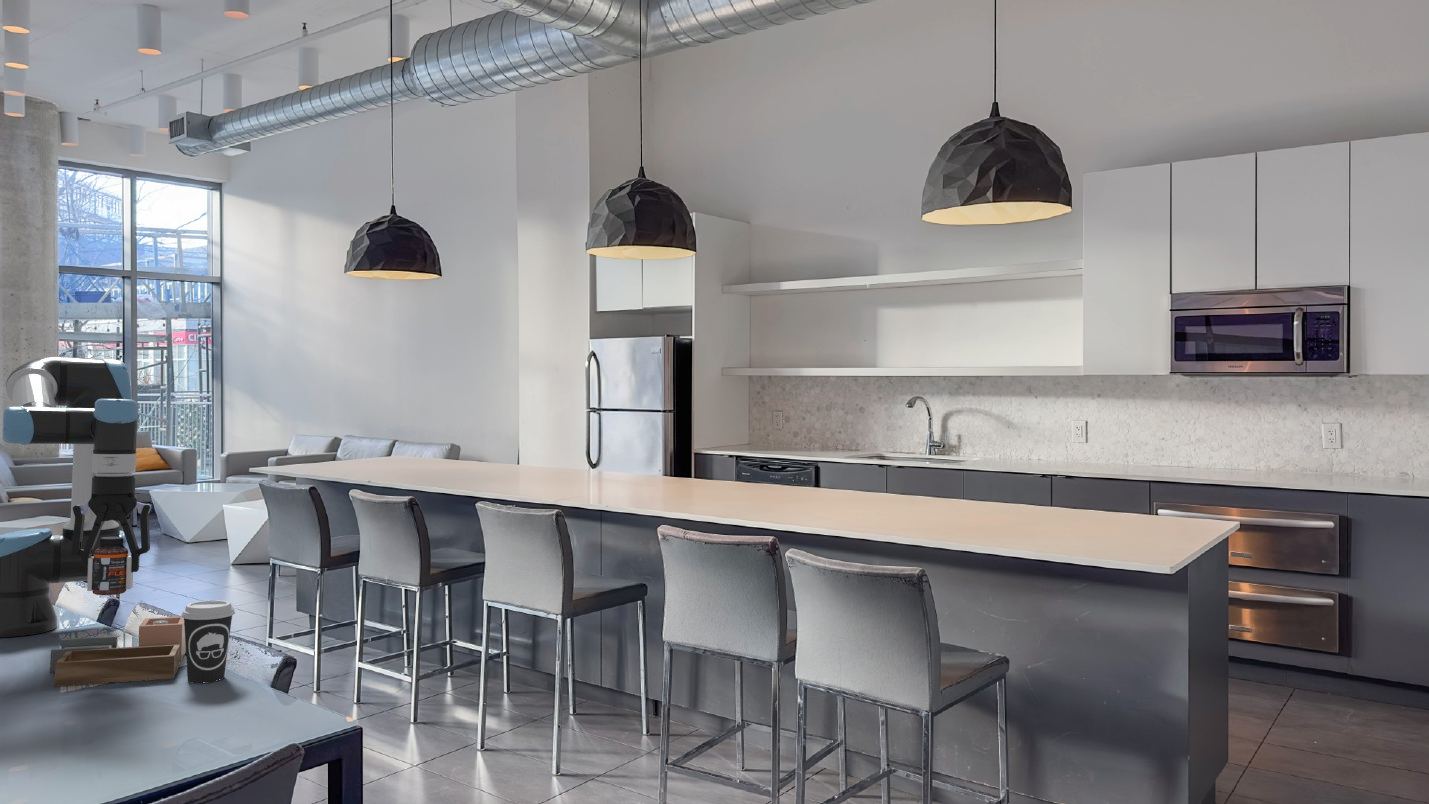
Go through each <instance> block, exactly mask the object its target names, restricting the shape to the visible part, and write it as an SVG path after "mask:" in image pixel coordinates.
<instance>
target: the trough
mask: <svg viewBox="0 0 1429 804" xmlns="http://www.w3.org/2000/svg"><path fill="white" fill-rule="evenodd" d="M180 663H181V662H180V644H173V645H156V646H139V647H138V646H125V647H117V648H104V649H87V650H69V651H67V652H66V653H65V654H64V655H63V656H62V657H61V658H60V659H59V660H58V661H57V662H56V663H55V673H54V688H56V687H59V688H60V687H73V686H86V685H85V684H88V685H99V684H100V683H102V684H108V683H107V682H116V683H126V681H127V683H129V682H128V681H131V682H142V680H145V681H158V680H157V679H159V680H171V679H173V680H174V677H175V676H176V674H177V671H178V669H179V667H180ZM155 679H156V680H155ZM100 685H101V684H100Z"/></svg>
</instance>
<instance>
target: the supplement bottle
mask: <svg viewBox="0 0 1429 804" xmlns="http://www.w3.org/2000/svg"><path fill="white" fill-rule="evenodd" d="M100 544H101V545H100V547H99V548H98V549H96V550H95V552H94V564H93V586H92V591H91V592H92V594H93V595H96V596H115V595H116V596H117V595H121V594H124V593H126V592H127V589H126V570H127V557H128V556H129V550H128V549H129V548H127V547H126V546H125V547H124V545H123V537H102V538H101V539H100Z"/></svg>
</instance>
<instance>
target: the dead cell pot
mask: <svg viewBox="0 0 1429 804" xmlns="http://www.w3.org/2000/svg"><path fill="white" fill-rule="evenodd" d="M137 641H138V643H137V644H138V645H137V647H139V646H156V645H173V644H180V662H179V663H182V661H183V659H184V658H185V656H186V643H185V627H184V618H182V617H181V616H166V617H165V616H164V617H163V616H162V617H145V618H143V620H142V621H141V623H140V624H139V626H138V640H137Z"/></svg>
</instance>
